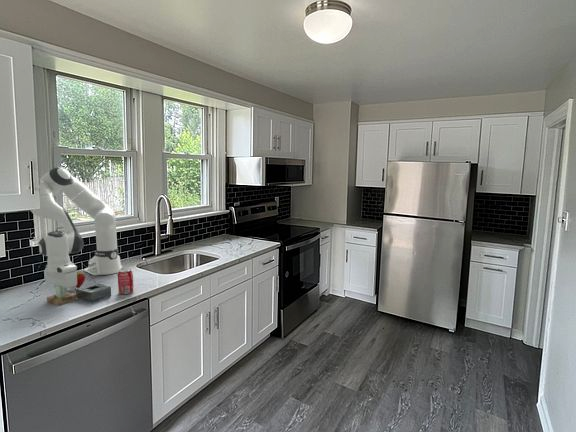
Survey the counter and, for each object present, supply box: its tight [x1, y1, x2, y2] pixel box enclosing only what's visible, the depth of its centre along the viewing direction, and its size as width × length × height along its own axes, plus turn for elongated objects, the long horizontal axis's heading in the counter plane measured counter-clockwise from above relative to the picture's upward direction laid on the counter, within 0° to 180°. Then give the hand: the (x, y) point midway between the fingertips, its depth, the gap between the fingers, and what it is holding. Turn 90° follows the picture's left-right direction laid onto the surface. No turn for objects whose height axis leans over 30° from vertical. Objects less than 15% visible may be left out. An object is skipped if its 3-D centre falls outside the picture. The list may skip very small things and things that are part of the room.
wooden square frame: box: [46, 291, 77, 306], centre depth 159 cm, size 9×9×2 cm
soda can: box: [117, 268, 134, 295], centre depth 171 cm, size 7×7×12 cm
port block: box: [75, 282, 112, 304], centre depth 164 cm, size 12×10×5 cm
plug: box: [54, 285, 67, 298], centre depth 159 cm, size 3×3×9 cm
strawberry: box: [75, 271, 86, 288], centre depth 175 cm, size 6×8×10 cm
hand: (61, 293), depth 159 cm, fingers closed on plug, 3 cm apart
